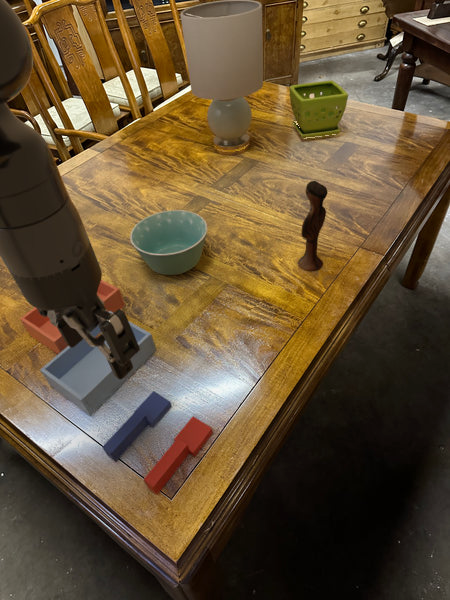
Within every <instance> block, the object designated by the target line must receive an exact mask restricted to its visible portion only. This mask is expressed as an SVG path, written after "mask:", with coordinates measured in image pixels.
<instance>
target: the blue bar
mask: <svg viewBox="0 0 450 600" xmlns="http://www.w3.org/2000/svg"><path fill="white" fill-rule="evenodd" d="M171 408H173V405H172V402H171V401H170V400H169V399H167V398H165V397H164V396H162V395H161V394H159V393H158V392H156V391H155V390H153V391H152V392H151V393H150V394H149V395H148V396H147V397H146V399H144V400H143V402H142V403H141V404H140V405H139V406H138V407H137V408H136V409H135V410H133V411H134V412H133V413H132V414H131V416H129V418H128V419H127V420H126V421H125V422H124V423H123V424H122V425H121V426H120V427H119V428H118V429H117V431H115V433H114V434H113V435H111V437H109V439H108V440H107V441H106V442H105V443H104V444H103V446H102V447H101V448H102V449H103V451H104V453H105V454H106V456H107V457H109V459H111V460H112V461H113V462H115V463H117V462H118V460H119V459H120V458H121V457H122V456H123V455H124V454H125V452H127V450H128V449H129V448H130V447H131V446H132V445H133V444H134V442H135V441H136V440H137V439H138V438H139V437H140V436H141V435H142V433H143V432H144V431H145V430H146V429H147V428H148V427H150V428H151V429H154V428H155V427H156V425H157V424H158V423H159V422H160V421H161V420H162V419H163V418H164V417H165V416H166V414H167V413H168V412H169V411H170V410H171Z"/></svg>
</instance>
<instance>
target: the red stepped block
mask: <svg viewBox="0 0 450 600" xmlns="http://www.w3.org/2000/svg"><path fill="white" fill-rule="evenodd" d="M212 435H214V429H213V428H212V427H211V426H209V425H208V424H207V423H204V422H203V421H201V420H200V419H198V417H196V416H194V415H192V417H191V418H190V419H189V420H188V421H187V423H185V425H184V426H183V428H182V429H181V430H180V431H179V432H178V433H177V435H176V436H175V437H174V438H173V441H174V442H173V443H172V444H171V445H170V447H169V448H167V450H166V451H165V452H164V454H163V455H162V456H161V457H160V458H159V460H158V461H157V462H156V464H154V466H153V467H152V468H151V469H150V471H149V472H148V473H147V474H146V476H145V477H144V478H143V482H144V484H145V486H146V487H147V489H149V490H150V491H151V492H153V493H154V494H155V495H156V496H157V495H159V493H160V492H161V491H162V489H163V488H164V487H165V486H166V484H167V483H168V482H169V481H170V479H171V478H172V477H173V475H174V474H175V473H176V472H177V470H178V469H179V468H180V467H181V465H182V464H183V463H184V461H185V460H186V459H187V458H188V456H189V455H190V456H192V457H194V458H195V457H196V456H197V454H198V453H199V452H200V451H201V449H202V448H203V447H204V445H205V444H206V443H207V442H208V440H209V439H210V437H212Z"/></svg>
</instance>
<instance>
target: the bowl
mask: <svg viewBox="0 0 450 600" xmlns="http://www.w3.org/2000/svg"><path fill="white" fill-rule="evenodd" d="M207 234H208V223H207V221H206V220H205V218H203V217H202V216H201V215H200V214H198V213H195V212H192V211H189V210H184V209H171V210H170V209H169V210H164V211H159V212H156V213H152V214H151V215H148V216H146V217H145V218H142V219H141V220H140V221H138V222H137V223H136V224H135V226H134V227H133V228H132V229H131V231H130V234H129V240H130V243H131V245H132V247H133V248H134V249H135V250H136V252H137V253H138V254H139V256H140V257H141V258H142V259H143V261H144V262H145V263H146V265H148V267H149V268H150V269H151V270H152V271H154V272H156V273H157V274H161V275H164V276H177V275H181V274H184V273H187V272H188V271H190V270H191V269H193V268H194V267H196V265H197V264H198V263H199V262H200V260H201V257H202V254H203V250H204V246H205V244H206V243H205V242H206V238H207Z"/></svg>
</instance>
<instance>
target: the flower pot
mask: <svg viewBox="0 0 450 600" xmlns="http://www.w3.org/2000/svg"><path fill="white" fill-rule="evenodd" d="M311 95H313V97H311ZM348 98H349V94H348V92H347V91H346V90H345V89H344V88H343V87H342V86H341V85H340V84H338V83H337V82H336V81H334V80H323V81H315V82H307V83H299V84H293V85H290V86H289V99H290V107H291V110H292V114H293V117H294V120H292V121H293V122H292V124H293V123H294V124H293V126H294V128H295V127H296V128H295V130H296V131H297V133H298V132H299V133H298V134H299V136H300V135H301V136H300V137H301V138H302V139H303V138H306V137H315V136H322V137H315V138H307V139H303V141H307V140H308V141H309V140H315V139H323V138H330V137H335V136H338V134H339V133H341V129H340V127H339V126H338V125H339V124H340V122H341V120H342V119H343V116H344V113H345V111H346V108H347V103H348ZM294 121H297V123H298V125H299V126H298V125H296V123H295V122H294ZM299 127H300V128H299ZM332 134H336V135H332ZM325 135H329V136H325Z"/></svg>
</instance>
